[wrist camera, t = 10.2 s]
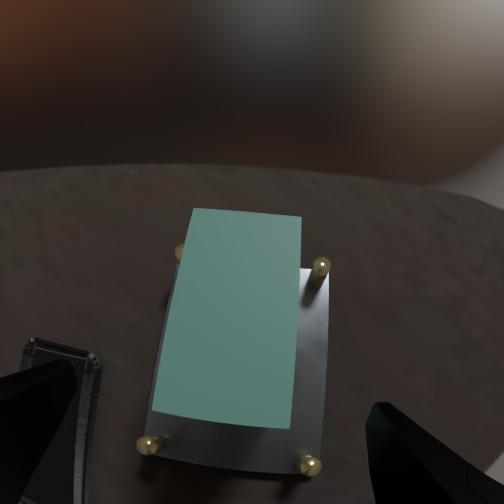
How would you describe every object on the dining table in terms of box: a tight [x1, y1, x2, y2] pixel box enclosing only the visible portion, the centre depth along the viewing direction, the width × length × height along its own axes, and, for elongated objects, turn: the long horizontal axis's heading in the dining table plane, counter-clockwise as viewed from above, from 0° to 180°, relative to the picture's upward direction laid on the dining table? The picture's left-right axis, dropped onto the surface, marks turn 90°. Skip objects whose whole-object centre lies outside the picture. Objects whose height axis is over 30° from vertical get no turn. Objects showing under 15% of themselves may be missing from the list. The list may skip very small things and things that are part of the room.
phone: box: [19, 338, 102, 504], centre depth 17 cm, size 8×1×15 cm
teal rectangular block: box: [152, 208, 301, 429], centre depth 15 cm, size 8×4×11 cm, turn 174°
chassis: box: [137, 244, 331, 476], centre depth 20 cm, size 15×12×4 cm
